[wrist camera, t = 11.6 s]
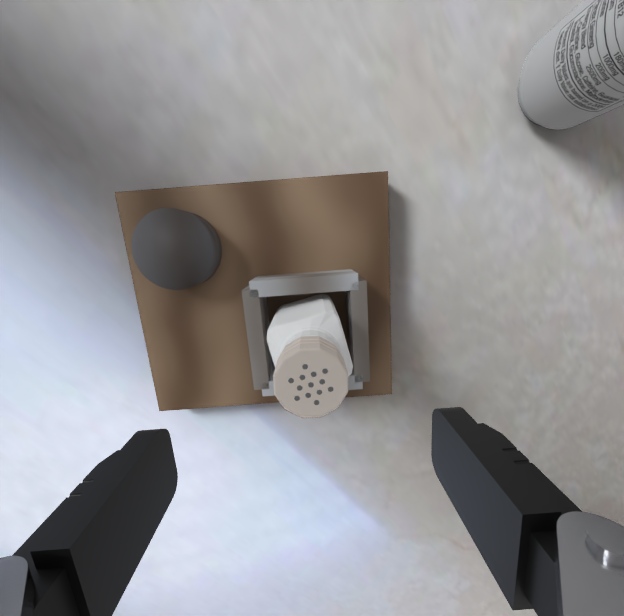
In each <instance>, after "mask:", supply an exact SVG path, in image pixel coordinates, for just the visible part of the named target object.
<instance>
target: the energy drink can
mask: <svg viewBox="0 0 624 616" xmlns="http://www.w3.org/2000/svg"><path fill="white" fill-rule="evenodd" d="M518 99H519V104H520V106H521V109H522V111H523V112H524V114H525V115H526V117H527V118H528V119H530V120H531V121H532V122H534V123H536V124H538V125H541V126H543V127H546V128H549V129H558V130H561V129H567V128H571V127H573V126H576V125H579V124H581V123H583V122H585V121H588V120H590V119H592V118H594V117H597V116H599V115H601V114H604V113H606V112H608V111H610V110H613V109H615V108H617V107H619V106H622V105H624V0H584V1H583V2H581V3H580V4H579V5H578V6H577V7H576V8H575V9H573V10H572V11H571V12H570V13H569V14H568V15H567V16H566V17H564V18H563V19H562V20H561V21H560V22H559V23H558V24H557V25H555V26H554V27H553V28H552V29H551V30H550V31H549V32H547V33H546V34H545V35H544V36H543V37H542V38H541V39H540V40H539V41H538V42H537V43H536V44H535V45H534V47H533V48H532V49H531V51H530V52H529V54H528V56H527V58H526V60H525V62H524V65H523V68H522V71H521V77H520V80H519V85H518Z"/></svg>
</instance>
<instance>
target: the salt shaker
mask: <svg viewBox="0 0 624 616" xmlns="http://www.w3.org/2000/svg"><path fill="white" fill-rule="evenodd" d="M267 343H268V346H269V350H270V353H271V356H272V360H273V363H274V366H275V370H274V374H273V383H274V395H275V396H276V398H277V399H278V400H279V402H280V403H281V405H282V406H283V408H284V409H285V410H287V411H289V412H291V413H293V414H295V415H297V416H299V417H301V418H318V417H323V416H325V415H327V414H328V413H330V412H332V411H334V410H336V409H338V408H339V406H340V404H341V403H342V401H343V400H344V398H345V396H346V395H347V393H348V377H349V376H350V375H351V374H352V369H353V364H352V360H351V357H350V353H349V350H348V346H347V342H346V339H345V335H344V332H343V329H342V325H341V322H340V318H339V316H338V313H337V311H336V309H335V306H334V304H333V302H332V299H331V298H330V297H329V296H328V295H327V294H319V295H315V296H312V297H308V298H305V299H302V300H298V301H295V302H291V303H288V304H284V305H282V306H281V307H279V308H278V309H277V311H276V313H275V315H274V317H273V320H272V322H271V324H270V326H269V328H268V330H267Z"/></svg>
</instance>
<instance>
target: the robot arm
mask: <svg viewBox="0 0 624 616" xmlns="http://www.w3.org/2000/svg"><path fill="white" fill-rule="evenodd" d="M432 461H433V466H434V469H435V472H436V475H437V477H438V479H439V481H440V482H441V484H442V486H443V488H444V489H445V491H446V493H447V495H448V497H449V498H450V500H451V502H452V504H453V505H454V507H455V509H456V511H457V512H458V514H459V516H460V518H461V520H462V521H463V523H464V525H465V527H466V528H467V530H468V532H469V534H470V535H471V537H472V539H473V541H474V543H475V544H476V546H477V548H478V550H479V551H480V553H481V555H482V557H483V558H484V560H485V562H486V564H487V566H488V567H489V569H490V571H491V573H492V574H493V576H494V578H495V580H496V582H497V583H498V585H499V587H500V589H501V590H502V592H503V594H504V596H505V597H506V599H507V601H508V603H509V605H510V606H511V608H512V610H522V609H534V610H535V612H536V613H537V615H538V616H624V527H623V526H621V525H620V524H618V523H616V522H613V521H611V520H609V519H607V518H604V517H601V516H598V515H595V514H591V513H586V512H582V511H581V510H580V509H579V508H578V507H577V506H576V505H575V504H574V503H573V502H572V501H571V500H570V499H569V498H568V497H567V496H566V495H565V494H563V493H562V492H561V491H560V490H559V489H558V488H557V487H556V486H555V485H554V484H553V483H552V482H551V481H550V480H549V479H548V478H547V477H546V476H545V475H544V474H543V473H542V472H541V471H540V470H539V469H538V468H537V467H536V466H535V465H534V464H533V463H530V462H529V460H528V459H527V458H526V457H525V456H524V455H523V454H522V453H521V452H520V451H517V449H516V447H515V446H514V445H513V444H512V443H511V442H510V441H509V440H508V439H507V438H506V437H505V436H504V435H503V434H501V433H500V432H498V431H496V430H494V429H493V428H491V427H489V426H487V425H486V424H484V423H481V424H477V423H476V421H475V420H474V419H473V418H472V417H471V416H470V415H469V414H468V413H467V412H466V411H465V410H464V409H463V408H461V407H454V408H441V409H435V410H434V411H433V414H432ZM177 477H178V476H177V468H176V463H175V458H174V453H173V448H172V443H171V438H170V434H169V432H168V430H167V429H156V430H142V431H138V432H136V433H135V434H134V435H133V436H132V438H131V439H130V440H129V441H128V442H127V443H126V444H125V445H124V447H123V448H122V449H121V450H117V451H116V452H115V453H113V454H112V455H110V456H109V457H107V458H106V459H105V460H103V461H102V462H100V463H99V464H98V465H97V466H96V467H95V468H94V469H93V470H92V471H91V472H90V473H89V474H88V475H87V476H86V477H85V478H84V480H83V483H80V484H79V485H78V486H77V487H76V488H75V489H74V490H73V491H72V492H71V493H70V497H69V498H66V499H65V500H64V501H63V502H62V503H61V504H60V505H59V506H58V507H57V508H56V509H55V511H54V512H53V513H52V514H51V515H50V516H49V517H48V518H47V519H46V520H45V521H44V522H43V523H42V524H41V525H40V527H39V528H38V529H37V530H36V531H35V532H34V533H33V534H32V535H31V536H30V537H29V538H28V539H27V540H26V542H25V543H24V544H23V545H22V546H21V547H20V548H19V549H18V550H17V551H16V552H15V553H14V554H13V555H12V556H7V557H3V558H0V616H112V614H113V612H114V610H115V609H116V607H117V605H118V603H119V601H120V599H121V597H122V595H123V593H124V591H125V589H126V587H127V585H128V583H129V582H130V580H131V578H132V576H133V574H134V572H135V570H136V568H137V566H138V564H139V562H140V560H141V558H142V556H143V555H144V553H145V551H146V549H147V547H148V545H149V543H150V541H151V539H152V537H153V535H154V533H155V531H156V529H157V528H158V526H159V524H160V522H161V520H162V518H163V516H164V514H165V512H166V510H167V508H168V506H169V504H170V502H171V501H172V499H173V496H174V494H175V491H176V487H177Z"/></svg>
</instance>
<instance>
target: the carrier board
mask: <svg viewBox="0 0 624 616" xmlns="http://www.w3.org/2000/svg"><path fill="white" fill-rule="evenodd" d="M115 196H116V201H117V206H118V211H119V216H120V220H121V225H122V230H123V235H124V240H125V245H126V250H127V255H128V259H129V264H130V269H131V274H132V279H133V284H134V289H135V294H136V298H137V303H138V308H139V313H140V318H141V323H142V328H143V333H144V337H145V342H146V347H147V352H148V357H149V362H150V367H151V372H152V376H153V381H154V386H155V391H156V396H157V401H158V406H159V411H166V410H180V409H193V408H207V407H220V406H234V405H247V404H261V403H274V402H279V400H278V399H277V398H276V396H275V395H274V383H273V374H274V370H275V366H274V363H273V360H272V356H271V353H270V350H269V346H268V343H267V330H268V328H269V326H270V324H271V322H272V320H273V317H274V315H275V313H276V311H277V309H278V308H279V307H281V306H282V305H284V304H288V303H291V302H295V301H298V300H302V299H305V298H308V297H312V296H315V295H319V294H327V295H328V296H329V297H330V298H331V299H332V302H333V304H334V306H335V309H336V311H337V313H338V316H339V318H340V322H341V325H342V329H343V332H344V335H345V339H346V342H347V346H348V350H349V353H350V357H351V360H352V364H353V369H352V374H351V375H350V376H349V377H348V393H347V395H346V396H345V397H355V396H369V395H383V394H392V378H391V322H390V266H389V210H388V171H385V172H372V173H359V174H346V175H333V176H320V177H307V178H294V179H281V180H268V181H255V182H242V183H229V184H216V185H203V186H190V187H177V188H164V189H151V190H138V191H125V192H115Z"/></svg>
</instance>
